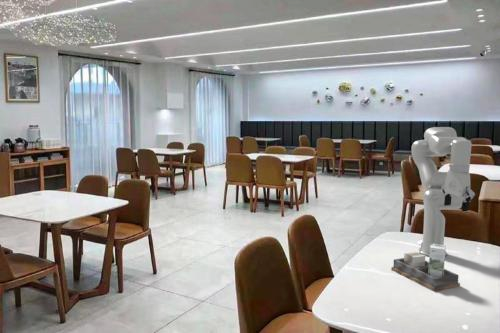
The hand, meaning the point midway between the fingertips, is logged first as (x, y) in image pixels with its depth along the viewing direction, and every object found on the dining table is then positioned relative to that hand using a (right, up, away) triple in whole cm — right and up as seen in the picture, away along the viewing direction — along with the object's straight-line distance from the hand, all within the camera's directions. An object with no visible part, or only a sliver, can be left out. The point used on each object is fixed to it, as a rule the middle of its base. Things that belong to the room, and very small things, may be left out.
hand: (455, 208), depth 190 cm
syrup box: (-13, -29, -9) cm, 33 cm away
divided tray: (-15, -29, -4) cm, 33 cm away
